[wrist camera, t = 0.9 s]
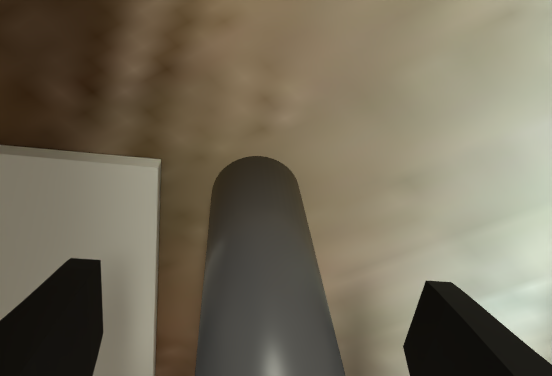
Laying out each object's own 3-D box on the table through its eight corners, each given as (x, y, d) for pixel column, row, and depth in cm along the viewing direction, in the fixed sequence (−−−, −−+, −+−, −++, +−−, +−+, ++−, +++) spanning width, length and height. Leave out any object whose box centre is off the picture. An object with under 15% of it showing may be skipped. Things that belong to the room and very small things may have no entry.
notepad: (153, 422, 20) (151, 435, 20) (-110, 416, 19) (-120, 430, 18) (161, 159, 15) (158, 167, 14) (-207, 126, 13) (-226, 133, 13)
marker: (293, 237, 16) (361, 594, 8) (207, 231, 16) (171, 598, 7) (307, 159, 15) (409, 480, 6) (213, 150, 15) (180, 478, 6)
